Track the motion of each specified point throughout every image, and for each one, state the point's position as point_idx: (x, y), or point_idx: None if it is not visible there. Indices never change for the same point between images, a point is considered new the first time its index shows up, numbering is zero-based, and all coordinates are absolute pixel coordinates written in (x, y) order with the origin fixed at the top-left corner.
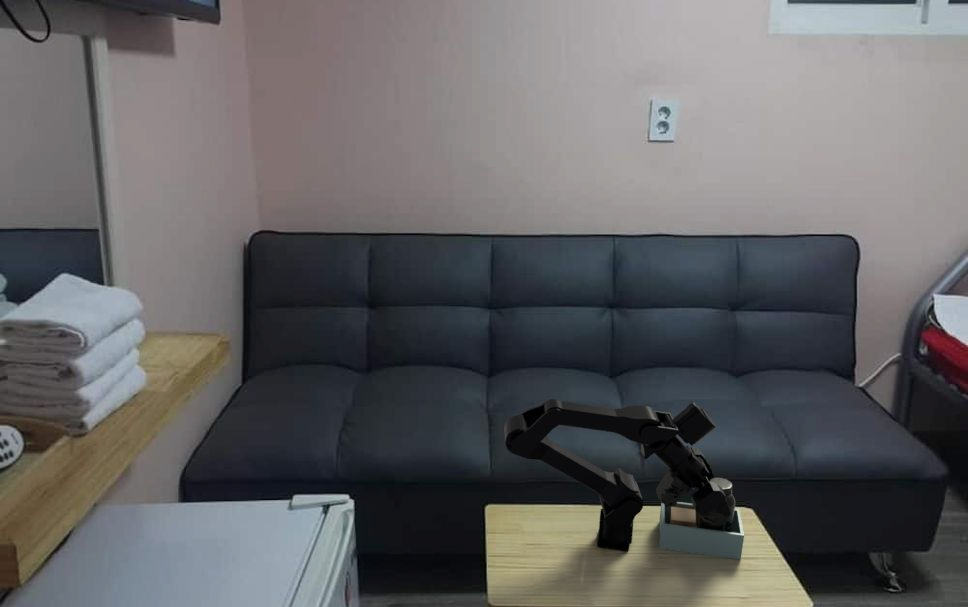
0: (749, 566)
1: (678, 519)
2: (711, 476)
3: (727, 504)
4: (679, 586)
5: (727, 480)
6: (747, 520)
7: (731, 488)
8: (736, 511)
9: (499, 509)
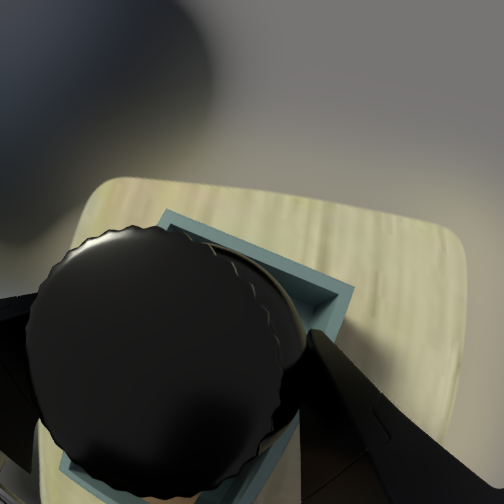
0: (360, 292)
1: (187, 499)
2: (2, 337)
3: (372, 386)
4: None
5: (95, 249)
6: (146, 186)
7: (239, 277)
8: (170, 226)
9: None
